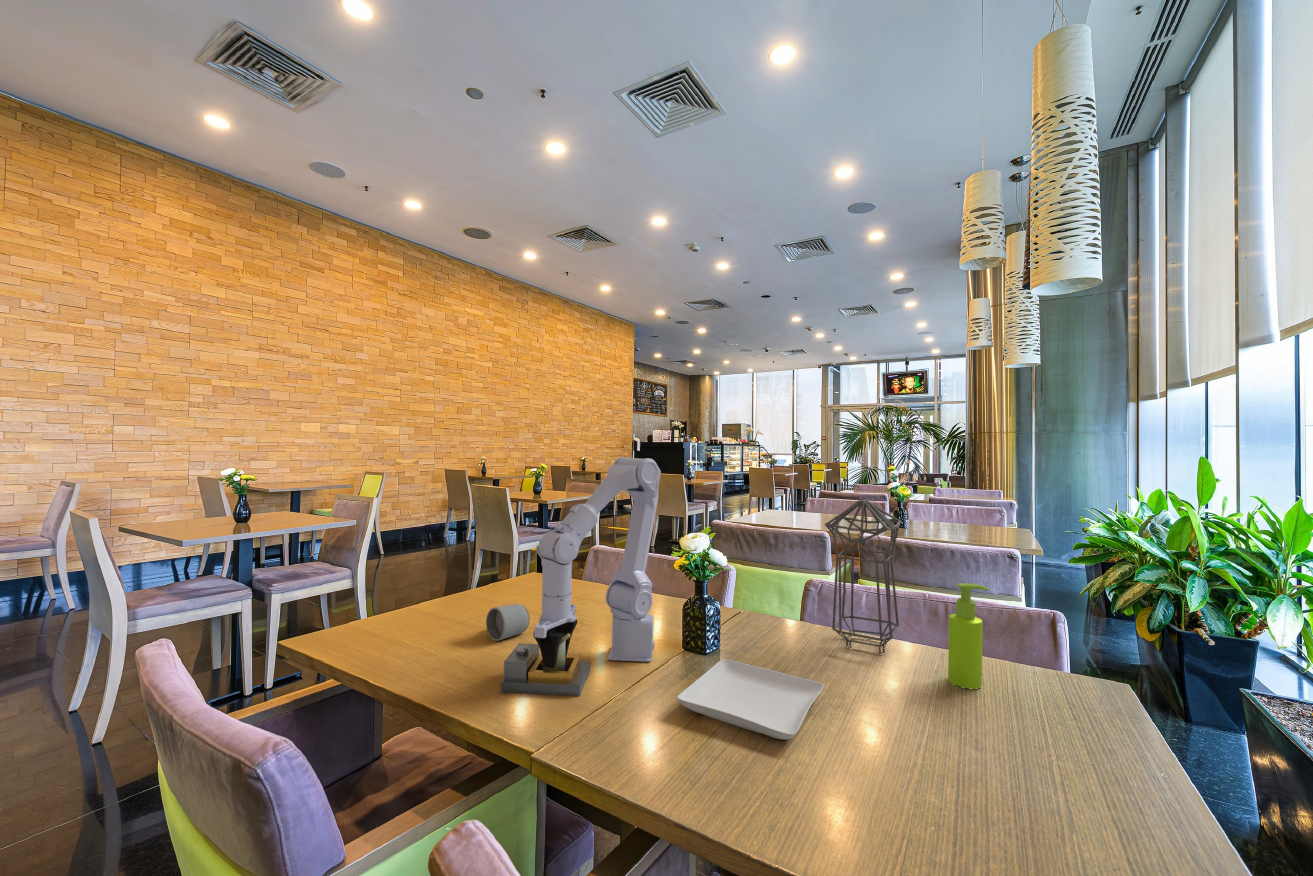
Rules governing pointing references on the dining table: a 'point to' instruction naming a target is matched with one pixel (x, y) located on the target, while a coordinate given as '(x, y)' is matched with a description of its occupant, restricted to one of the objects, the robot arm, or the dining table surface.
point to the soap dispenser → (965, 641)
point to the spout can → (559, 656)
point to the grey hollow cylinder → (507, 621)
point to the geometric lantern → (894, 529)
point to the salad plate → (752, 698)
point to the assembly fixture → (542, 674)
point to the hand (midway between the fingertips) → (555, 661)
